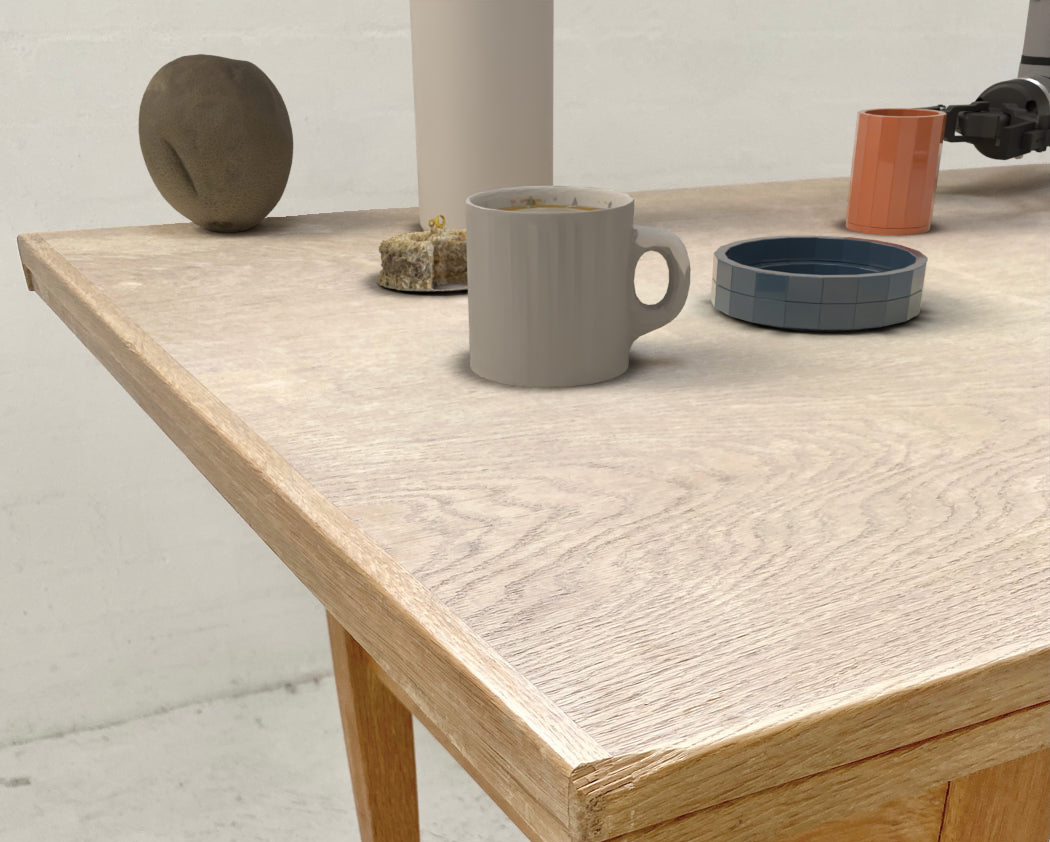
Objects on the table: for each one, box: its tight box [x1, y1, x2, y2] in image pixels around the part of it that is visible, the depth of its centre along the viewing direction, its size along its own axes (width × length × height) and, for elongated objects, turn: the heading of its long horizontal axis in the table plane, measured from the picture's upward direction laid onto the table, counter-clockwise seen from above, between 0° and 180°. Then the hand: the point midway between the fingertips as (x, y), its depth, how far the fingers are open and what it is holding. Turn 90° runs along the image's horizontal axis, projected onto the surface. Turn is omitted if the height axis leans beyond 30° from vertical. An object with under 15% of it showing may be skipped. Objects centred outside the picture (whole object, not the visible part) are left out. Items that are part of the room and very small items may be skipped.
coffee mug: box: [466, 185, 691, 388], centre depth 78 cm, size 13×10×10 cm
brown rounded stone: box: [138, 53, 294, 233], centre depth 119 cm, size 14×14×15 cm
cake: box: [376, 215, 468, 293], centre depth 100 cm, size 10×10×5 cm
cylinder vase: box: [408, 0, 555, 231], centre depth 115 cm, size 12×12×25 cm
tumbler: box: [845, 107, 947, 236], centre depth 117 cm, size 8×8×10 cm
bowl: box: [710, 234, 929, 332], centre depth 92 cm, size 15×15×4 cm
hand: (933, 138), depth 122 cm, fingers open, 13 cm apart
